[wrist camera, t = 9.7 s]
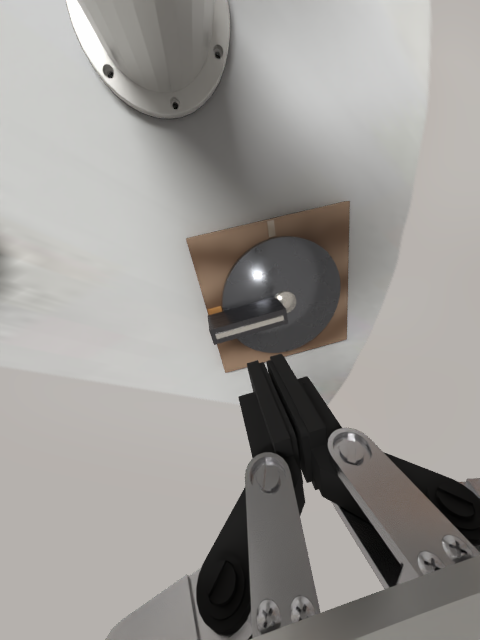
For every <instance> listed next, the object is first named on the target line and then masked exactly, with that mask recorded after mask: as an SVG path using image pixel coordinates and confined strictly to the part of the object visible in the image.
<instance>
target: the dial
mask: <svg viewBox="0 0 480 640" xmlns="http://www.w3.org/2000/svg"><path fill="white" fill-rule="evenodd" d="M340 288H341V284H340V276H339V271H338V269H337V266H336V264H335V262H334V260H333V259H332V257H331V256H330V255H329V253H328V252H327V251H326V250H324V249H323V248H322V247H321V246H319V245H318V244H316V243H314V242H312V241H310V240H307V239H303V238H299V237H293V236H279V237H274V238H270V239H267V240H264V241H262V242H260V243H258V244H256V245H254V246H253V247H251V248H250V249H248V250H247V251H246V252H245V253H244V254H242V255H241V256H240V258H239V259H238V260H237V261H236V262H235V263H234V265H233V266H232V268H231V269H230V271H229V273H228V275H227V278H226V280H225V283H224V287H223V292H222V308H223V311H222V312H219V313H215V314H211V315H208V323H209V331H210V334H211V337H212V340H213V343H214V345H216V344H219V343H223V342H226V341H230V340H233V339H238V340H239V341H240V342H241V343H243V344H244V345H246V346H247V347H249V348H251V349H254V350H257V351H261V352H266V353H280V352H286V351H290V350H293V349H296V348H298V347H301V346H303V345H305V344H306V343H308V342H309V341H311V340H312V339H314V338H315V337H316V336H317V335H318V334H319V333H320V332H321V331H322V330H323V329H324V328H325V327H326V326H327V324H328V323H329V321H330V320H331V318H332V316H333V315H334V313H335V310H336V308H337V305H338V302H339V297H340Z"/></svg>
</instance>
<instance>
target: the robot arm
mask: <svg viewBox="0 0 480 640" xmlns="http://www.w3.org/2000/svg"><path fill="white" fill-rule="evenodd" d="M66 5H67V9H68V12H69V15H70V19H71V22H72V26H73V29H74V31H75V33H76V36H77V38H78V40H79V42H80V45H81V47H82V49H83V51H84V53H85V54H86V56H87V58H88V59H89V61H90V63H91V64H92V66H93V68H94V69H95V70H96V72H97V73H98V75H99V76H100V77H101V79H102V80H103V81H104V82H105V84H106V85H107V86H108V87H109V88H110V89H111V90H112V91H113V92H114V93H115V95H117V96H118V97H119V98H120V99H122V100H123V101H124V102H125V103H126V104H128V105H129V106H131V107H133V108H134V109H136V110H138V111H140V112H141V113H144V114H147V115H150V116H153V117H156V118H165V119H172V118H179V117H183V116H186V115H188V114H191V113H193V112H194V111H196V110H197V109H199V108H200V107H201V106H203V105H204V104H205V102H206V101H207V100H208V99H209V98H210V97H211V96H212V94H213V92H214V91H215V89H216V87H217V85H218V84H219V82H220V79H221V76H222V73H223V71H224V68H225V64H226V59H227V55H228V48H229V39H230V12H229V5H228V0H66ZM216 54H218V55H219V56H220V59H217V58H216V57H215V55H216ZM110 73H112V74H114V76H113V78H111V79H110V78H109V74H110ZM174 104H177V105H178V109H174V108H173V105H174ZM267 367H268V371H267V369H266V367H265V365H264V362H261V363H259V361H258V360H257V361H253V362H250V363H247V368H248V372H249V376H250V380H251V384H252V388H253V393H249V394H246V395H242V396H239V401H240V406H241V410H242V414H243V418H244V423H245V427H246V431H247V435H248V440H249V444H250V448H251V453H252V457H253V459H252V460H251V461H250V463H249V464H248V466H247V469H246V473H245V488H244V490H243V492H242V494H241V496H240V498H239V500H238V501H237V503H236V505H235V507H234V509H233V510H232V512H231V514H230V516H229V518H228V519H227V521H226V523H225V525H224V527H223V529H222V530H221V532H220V534H219V536H218V538H217V539H216V541H215V543H214V545H213V547H212V548H211V550H210V552H209V554H208V556H207V558H206V560H205V561H204V563H203V565H202V568H200V569H199V570H197V571H196V572H195V573H193V574H192V575H190V576H188V575H185V576H184V577H183V578H181V579H180V580H178V581H177V582H176V583H174V584H173V585H171V586H170V587H168V588H167V589H165V590H164V591H162V592H161V593H160V594H158V595H157V596H155V597H154V598H152V599H151V600H150V601H148V602H147V603H145V604H144V605H142V606H141V607H140V608H138V609H137V610H135V611H134V612H132V613H131V614H129V615H128V616H127V617H126V618H124V619H122V620H121V621H120V622H119V623H118V624H117V625H116V626H115V627H114V628H113V629H112V630H111V632H110V633H109V635H108V636H107V638H106V639H105V640H480V478H475V479H467V480H466V482H457V481H455V480H453V479H451V478H448V477H446V476H443V475H441V474H438V473H435V472H433V471H430V470H428V469H425V468H422V467H420V466H417V465H415V464H412V463H410V462H407V461H405V460H402V459H399V458H397V457H394V456H392V455H389V454H387V453H384V452H383V451H381V449H379V447H378V446H377V445H376V444H375V443H374V442H373V441H372V440H371V439H370V438H368V436H366V435H365V434H364V433H362V432H360V431H358V430H356V429H352V428H342V427H341V426H340V424H339V423H338V421H337V420H336V418H335V417H334V415H333V414H332V412H331V411H330V409H329V408H328V406H327V405H326V403H325V402H324V400H323V399H322V397H321V396H320V394H319V393H318V391H317V390H316V388H315V387H314V385H313V384H312V382H311V381H310V379H309V378H308V377H303V378H300V379H297V378H296V376H295V375H294V373H293V371H292V370H291V368H290V366H289V365H288V363H287V361H286V360H285V358H284V356H283V355H282V354H278V355H274V356H271V357H270V360H268V361H267ZM268 372H269V374H268ZM301 470H302V472H303V475H304V477H305V480H306V482H307V483H308V482H311V481H312V484H313V486H314V488H315V490H317V489H319V490H320V492H321V495H322V496H323V497H325V498H326V499H328V500H330V501H332V503H333V505H334V507H335V509H336V511H337V512H338V514H339V515H340V517H341V519H342V520H343V522H344V524H345V525H346V527H347V529H348V530H349V532H350V534H351V535H352V537H353V538H354V540H355V542H356V543H357V545H358V546H359V548H360V550H361V551H362V553H363V555H364V556H365V558H366V560H367V561H368V563H369V564H370V566H371V568H372V569H373V571H374V572H375V574H376V576H377V578H378V579H379V581H380V582H381V584H382V586H383V587H384V589H385V590H382V591H379V592H377V593H374V594H371V595H369V596H366V597H363V598H360V599H358V600H355V601H352V602H349V603H347V604H344V605H341V606H338V607H336V608H333V609H330V610H328V611H325V612H322V613H320V609H319V604H318V599H317V595H316V590H315V586H314V581H313V576H312V571H311V567H310V562H309V558H308V552H307V548H306V543H305V538H304V534H303V529H302V525H301V520H300V515H301V512H302V509H303V507H304V503H305V498H304V491H303V485H302V484H303V480H302V473H301Z"/></svg>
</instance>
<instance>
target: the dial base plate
mask: <svg viewBox="0 0 480 640" xmlns="http://www.w3.org/2000/svg"><path fill="white" fill-rule="evenodd" d="M349 207H350V201H344V202H340V203H336V204H331V205H327V206H323V207H319V208H314V209H310V210H306V211H301V212H297V213H293V214H288V215H284V216H280V217H276V218H271V219H267V220H263V221H258V222H254V223H250V224H246V225H241V226H237V227H233V228H228V229H224V230H220V231H216V232H211V233H207V234H203V235H198V236H194V237H190V238H186V240H187V244H188V247H189V251H190V254H191V257H192V261H193V264H194V268H195V271H196V274H197V278H198V281H199V285H200V288H201V291H202V295H203V298H204V302H205V305H206V308H207V312H208V315H211V314H215V313H219V312H222V311H223V308H222V292H223V287H224V283H225V280H226V278H227V275H228V273H229V271H230V269H231V268H232V266H233V265H234V263H235V262H236V261H237V260H238V259H239V258H240V256H241V255H242V254H244V253H245V252H246V251H247V250H248V249H250V248H251V247H253V246H254V245H256V244H258V243H260V242H262V241H264V240H267V239H270V238H274V237H279V236H293V237H299V238H303V239H307V240H310V241H312V242H314V243H316V244H318V245H319V246H321V247H322V248H323V249H324V250H326V251H327V252H328V253H329V255H330V256H331V257H332V259H333V260H334V262H335V264H336V266H337V269H338V271H339V276H340V284H341V288H340V297H339V302H338V305H337V308H336V310H335V313H334V315H333V316H332V318H331V320H330V321H329V323H328V324H327V326H326V327H325V328H324V329H323V330H322V331H321V332H320V333H319V334H318V335H317V336H316V337H315V338H314V339H312V340H311V341H309V342H308V343H306V344H305V345H303V346H301V347H298V348H296V349H293V350H290V351H286V352H280V353H266V352H261V351H257V350H254V349H251V348H249V347H247V346H246V345H244V344H243V343H241V342H240V341H239V340H238V339H233V340H230V341H226V342H223V343H219V344H217V346H218V349H219V353H220V356H221V359H222V363H223V366H224V369H225V373H227V372H230V371H234V370H238V369H241V368H245V367H247V363H250V362H253V361H257V360H258V361H259V363H261V362H267V361H268V360H270V357H271V356H274V355H278V354H282V355H283V356H284V357H285V356H288V355H292V354H295V353H299V352H303V351H306V350H310V349H313V348H317V347H321V346H324V345H328V344H332V343H335V342H339V341H342V340H346V339H347V301H348V254H349Z"/></svg>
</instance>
